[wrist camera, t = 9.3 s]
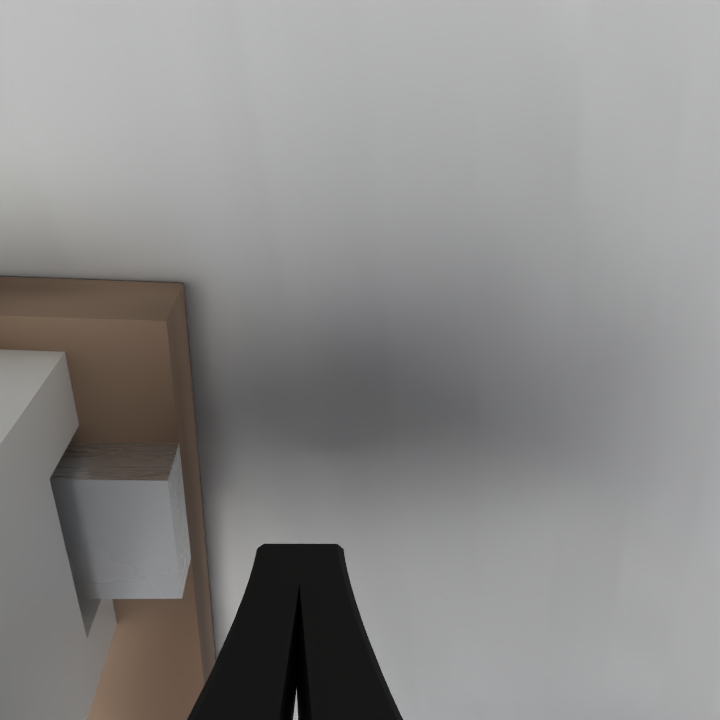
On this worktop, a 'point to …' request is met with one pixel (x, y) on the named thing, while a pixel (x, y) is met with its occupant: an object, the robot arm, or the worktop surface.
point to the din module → (41, 553)
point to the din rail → (123, 519)
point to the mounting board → (133, 425)
